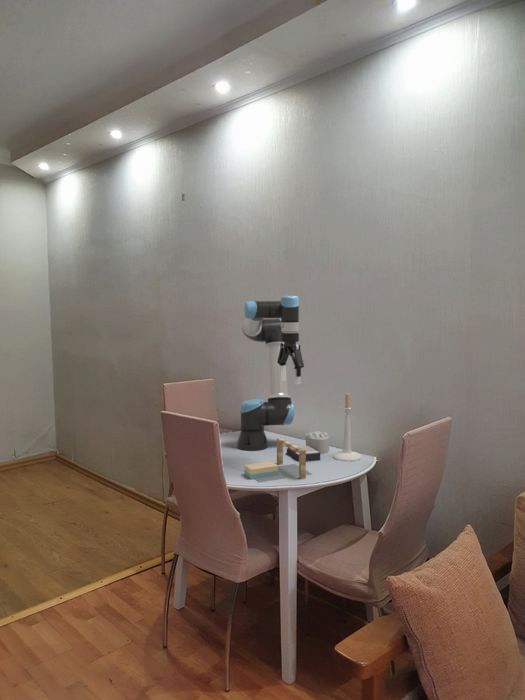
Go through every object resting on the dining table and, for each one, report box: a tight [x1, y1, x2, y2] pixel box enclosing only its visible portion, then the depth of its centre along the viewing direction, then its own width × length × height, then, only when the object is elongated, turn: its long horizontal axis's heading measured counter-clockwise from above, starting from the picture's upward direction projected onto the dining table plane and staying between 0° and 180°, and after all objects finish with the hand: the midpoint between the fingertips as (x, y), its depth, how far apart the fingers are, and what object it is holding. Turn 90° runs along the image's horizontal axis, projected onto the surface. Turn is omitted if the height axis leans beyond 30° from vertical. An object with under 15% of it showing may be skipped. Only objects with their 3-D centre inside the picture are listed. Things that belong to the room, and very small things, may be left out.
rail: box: [276, 437, 307, 480], centre depth 219 cm, size 23×2×12 cm, turn 24°
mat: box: [243, 463, 313, 483], centre depth 217 cm, size 16×24×1 cm, turn 114°
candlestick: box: [332, 392, 363, 462], centre depth 239 cm, size 13×13×30 cm
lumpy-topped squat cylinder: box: [305, 430, 330, 455], centre depth 252 cm, size 10×13×9 cm
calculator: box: [286, 445, 321, 463], centre depth 241 cm, size 11×4×15 cm
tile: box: [244, 461, 279, 480], centre depth 214 cm, size 7×12×4 cm, turn 114°
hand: (290, 382), depth 223 cm, fingers open, 13 cm apart
